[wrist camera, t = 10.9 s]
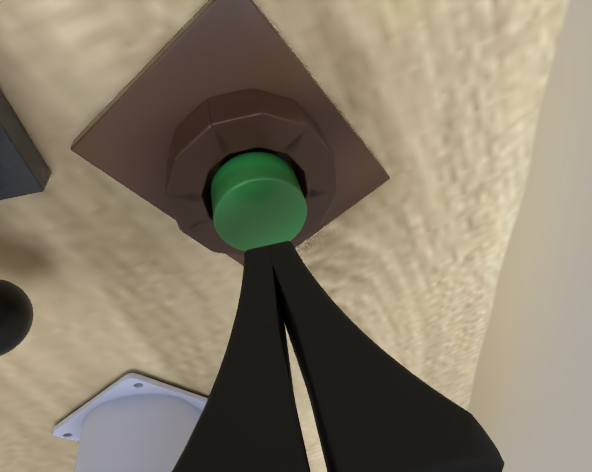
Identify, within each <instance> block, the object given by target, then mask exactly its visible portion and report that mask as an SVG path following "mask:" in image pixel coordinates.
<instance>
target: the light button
mask: <svg viewBox="0 0 592 472" xmlns="http://www.w3.org/2000/svg"><path fill="white" fill-rule="evenodd" d="M211 200H212V210H213V221H214V226H215V229H216V231H217V233H218V234H219V236H220V237H221V238H222V239H223V240H224V241H225V242H226V243H227V244H229V245H230V246H232V247H234V248H236V249H239V250H242V251H246V250H249V249H253V248H257V247H262V246H266V245H271V244H275V243H280V242H284V241H291V240H292V239H293V238H294V237H295V236H296V235H297V234H298V233H299V231H300V230H301V229H302V227H303V225H304V223H305V220H306V216H307V205H306V201H305V198H304V196H303V193H302V190H301V188H300V185H299V182H298V180H297V177H296V175H295V172H294V170H293V169H292V167H291V166H290V165H289V164H288V163H287V162H286V161H285V160H283V159H282V158H280V157H278V156H276V155H273V154H270V153H266V152H249V153H244V154H240V155H238V156H236V157H233V158H232V159H230V160H228V161H227V162H226V163H225V164H223V165H222V166H221V167H220V169H219V170H218V171H217V173H216V174H215V176H214V178H213V181H212V184H211Z"/></svg>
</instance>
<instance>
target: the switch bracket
mask: <svg viewBox="0 0 592 472" xmlns="http://www.w3.org/2000/svg"><path fill="white" fill-rule="evenodd" d="M50 175H51V172H50V171H49V169H48V167H47V166H46V164H45V163H44V161H43V159H42V158H41V156H40V154H39V153H38V151H37V149H36V148H35V146H34V145H33V143H32V141H31V140H30V138H29V136H28V135H27V133H26V131H25V130H24V128H23V127H22V125H21V123H20V122H19V120H18V118H17V117H16V115H15V114H14V112H13V110H12V109H11V107H10V105H9V104H8V102H7V100H6V99H5V97H4V96H3V94H2V92H1V91H0V200H2V199H7V198H12V197H17V196H22V195H27V194H32V193H37V192H42V191H44V189H45V187H46V185H47V182H48V180H49V177H50Z"/></svg>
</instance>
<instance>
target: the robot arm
mask: <svg viewBox="0 0 592 472" xmlns="http://www.w3.org/2000/svg"><path fill="white" fill-rule="evenodd" d="M284 322H285V323H284ZM285 325H286V328H287V331H288V334H289V337H290V340H291V343H292V346H293V349H294V352H295V355H296V358H297V361H298V364H299V367H300V370H301V373H302V376H303V379H304V382H305V385H306V388H307V391H308V394H309V398H310V401H311V405H312V409H313V414H314V418H315V422H316V426H317V430H318V434H319V438H320V443H321V447H322V451H323V455H324V459H325V463H326V468H327V472H502V469H503V466H504V461H503V460H502V458H501V456H500V453H499V451H498V450H497V448H496V446H495V445H494V443H493V442H492V440H491V439H490V438H489V436H488V435H487V434H486V432H485V431H484V429H483V428H482V427H481V425H480V424H479V423H478V422H477V420H476V419H475V418H474V417H473V415H472V414H471V413H469V412H468V411H466V410H465V409H463V408H461V407H460V406H458V405H457V404H455V403H454V402H452V401H451V400H449V399H448V398H446V397H445V396H443V395H442V394H440V393H439V392H437V391H436V390H434V389H433V388H431V387H430V386H429V385H427V384H426V383H425V382H423V381H422V380H420V379H419V378H418V377H416V376H415V375H413V374H412V373H411V372H410V371H408V370H407V369H406V368H405V367H403V366H402V365H401V364H400V363H398V362H397V361H396V360H395V359H393V358H392V357H391V356H390V355H388V354H387V353H386V352H385V351H383V350H382V349H381V348H380V347H379V346H378V345H377V344H375V343H374V342H373V341H372V340H371V339H370V338H369V337H368V336H367V335H366V334H364V333H363V332H362V331H361V330H360V329H359V328H358V327H357V326H356V325H355V324H354V323H353V322H352V321H351V320H350V319H349V318H348V317H347V316H346V315H345V314H344V313H343V311H342V310H341V309H340V308H339V307H338V306H337V305H336V304H335V303H334V302H333V300H332V299H331V298H330V297H329V296H328V295H327V293H326V292H325V291H324V290H323V288H322V287H321V286H320V285H319V283H318V282H317V281H316V280H315V278H314V277H313V276H312V274H311V273H310V271H309V270H308V269H307V267H306V266H305V264H304V263H303V261H302V260H301V258H300V256H299V255H298V253H297V251H296V249H295V247H294V245H293V243H292V242H290V241H284V242H280V243H275V244H271V245H266V246H262V247H257V248H253V249H249V250H246V252H245V253H244V271H243V280H242V287H241V293H240V298H239V303H238V309H237V313H236V317H235V321H234V325H233V328H232V332H231V336H230V340H229V343H228V346H227V349H226V353H225V356H224V359H223V361H222V364H221V367H220V370H219V373H218V375H217V378H216V380H215V383H214V385H213V388H212V390H211V393H210V395H209V398H206V397H203V396H200V395H197V394H194V393H191V392H188V391H186V390H183V389H180V388H177V387H174V386H171V385H168V384H165V383H163V382H160V381H157V380H154V379H151V378H148V377H145V376H143V375H140V374H137V373H129V374H126V375H125V376H123V377H122V378H120V379H119V380H118V381H116V382H115V383H113V384H112V385H111V386H109V387H108V388H107V389H105V390H104V391H102V392H101V393H100V394H98V395H97V396H96V397H94V398H93V399H91V400H90V401H89V402H87V403H86V404H85V405H83V406H82V407H80V408H79V409H78V410H76V411H75V412H73V413H72V414H71V415H69V416H68V417H67V418H65V419H64V420H62V421H61V422H60V423H58V424H57V425H56V426H54V427H53V429H52V435H54V436H56V437H61V438H65V439H70V440H75V441H79V445H78V451H77V456H76V462H75V468H74V472H310V467H309V463H308V458H307V454H306V449H305V445H304V440H303V436H302V431H301V427H300V422H299V418H298V413H297V408H296V403H295V397H294V392H293V384H292V377H291V369H290V361H289V354H288V346H287V338H286V331H285Z"/></svg>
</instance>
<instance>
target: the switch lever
mask: <svg viewBox="0 0 592 472" xmlns="http://www.w3.org/2000/svg"><path fill="white" fill-rule="evenodd" d="M32 321H33V308H32V304H31V302H30V299H29V298H28V296H27V295H26V294H25V292H24V291H23V290H22V289H20V288H19V287H18V286H16V285H14V284H13V283H11V282H8V281H5V280H1V279H0V356H1V355H3V354H5V353H7V352H9V351H11V350H12V349H14V348H15V347H16V346H17V345H19V344H20V343H21V342H22V340H23V339H24V338H25V337H26V335H27V334H28V332H29V330H30V328H31V325H32Z"/></svg>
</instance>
